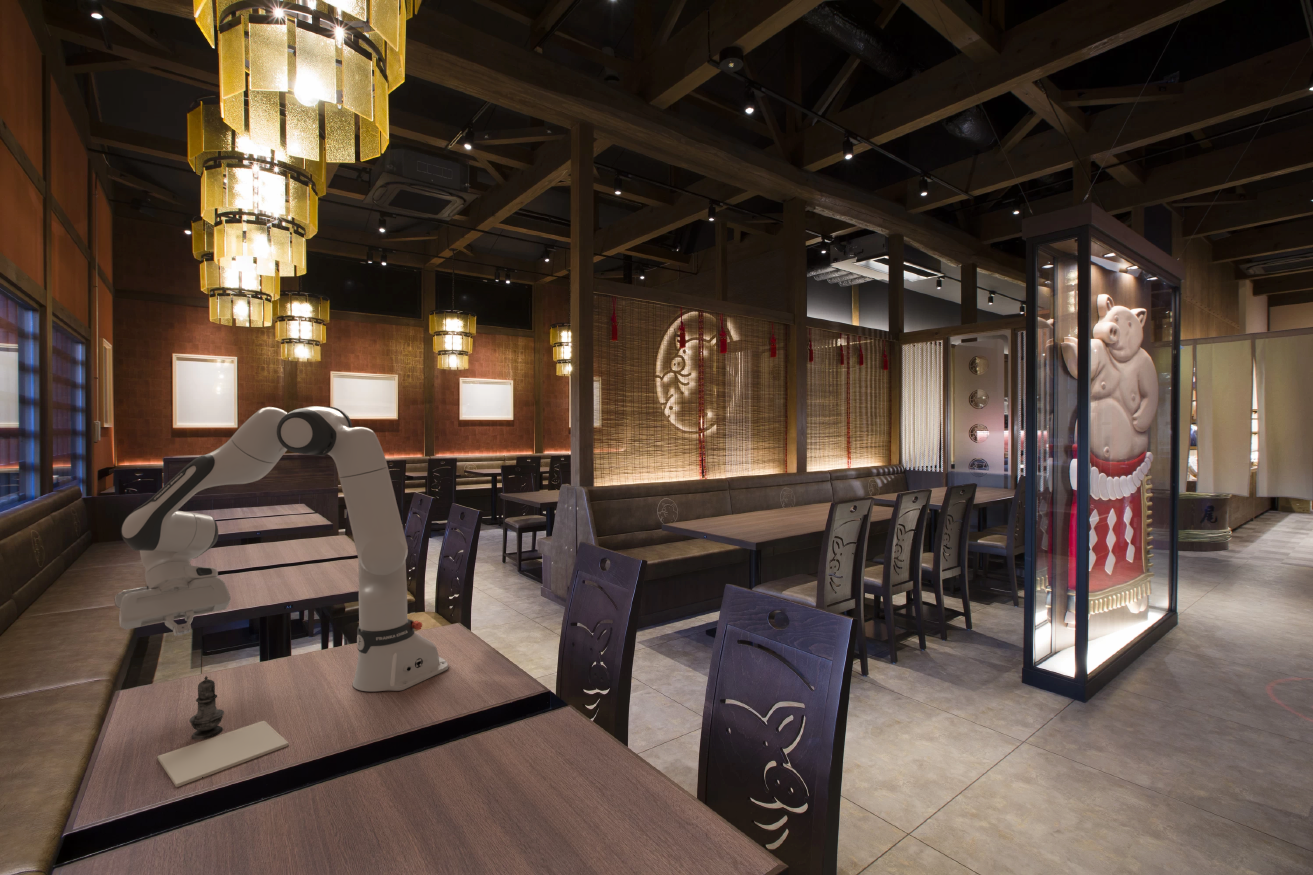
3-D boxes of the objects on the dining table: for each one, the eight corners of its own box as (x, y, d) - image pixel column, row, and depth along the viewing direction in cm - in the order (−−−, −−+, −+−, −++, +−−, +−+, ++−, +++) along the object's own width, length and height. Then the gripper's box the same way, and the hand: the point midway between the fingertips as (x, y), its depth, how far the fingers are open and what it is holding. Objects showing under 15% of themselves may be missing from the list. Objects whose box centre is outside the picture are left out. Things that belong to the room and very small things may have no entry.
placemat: (264, 722, 130) (264, 720, 130) (288, 745, 121) (288, 742, 121) (157, 758, 117) (157, 755, 117) (176, 787, 108) (176, 783, 108)
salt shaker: (206, 741, 123) (204, 683, 123) (182, 738, 124) (180, 680, 124) (231, 727, 129) (230, 671, 128) (208, 724, 130) (207, 669, 129)
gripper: (114, 584, 134) (124, 638, 128) (224, 566, 150) (237, 614, 144) (111, 600, 137) (120, 653, 131) (219, 581, 153) (232, 628, 147)
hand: (183, 632), depth 137 cm, fingers closed
